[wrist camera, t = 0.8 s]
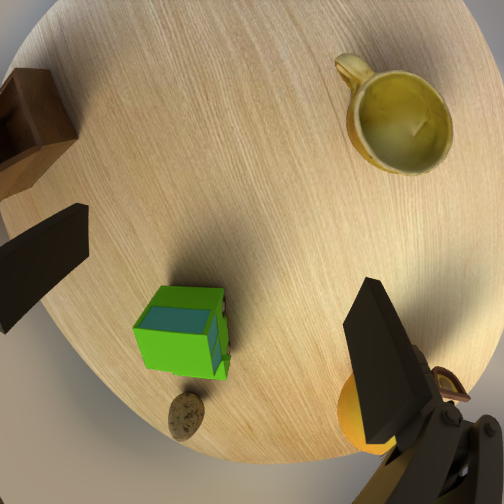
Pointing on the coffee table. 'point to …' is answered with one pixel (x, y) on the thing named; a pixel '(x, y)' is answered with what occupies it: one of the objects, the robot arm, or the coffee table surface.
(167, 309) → the toy car
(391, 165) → the mug
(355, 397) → the emoji
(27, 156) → the chest lid
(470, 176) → the coffee table surface
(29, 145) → the chest
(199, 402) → the decorative egg
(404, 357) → the robot arm
